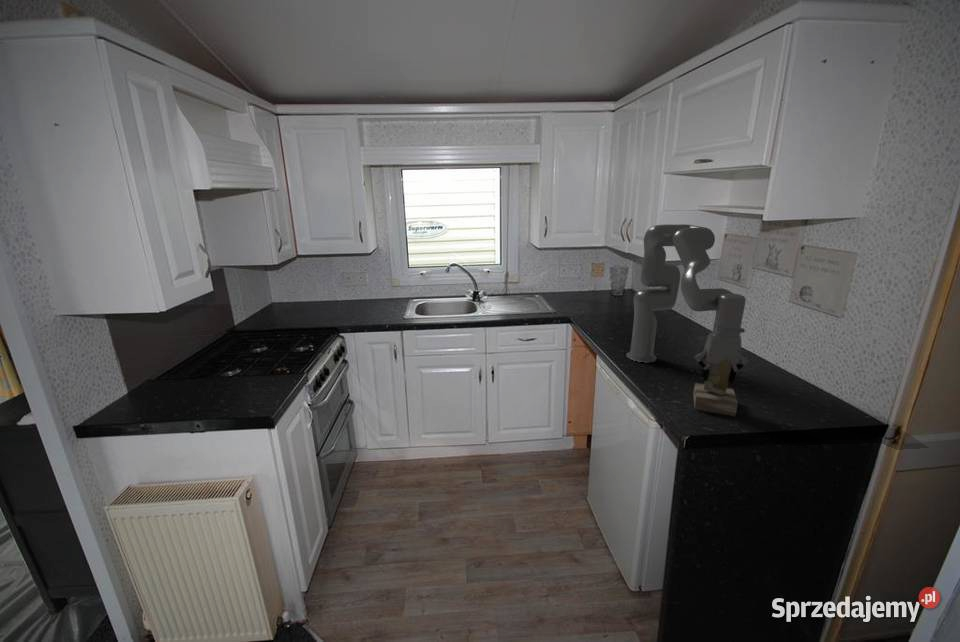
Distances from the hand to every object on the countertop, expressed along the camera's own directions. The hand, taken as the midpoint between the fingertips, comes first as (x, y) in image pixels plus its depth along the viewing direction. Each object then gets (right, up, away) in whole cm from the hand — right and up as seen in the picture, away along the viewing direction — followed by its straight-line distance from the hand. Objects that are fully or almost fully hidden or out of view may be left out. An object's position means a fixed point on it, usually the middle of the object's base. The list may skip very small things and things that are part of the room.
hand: (717, 379), depth 137 cm
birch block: (0, -9, +3) cm, 10 cm away
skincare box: (0, -4, +1) cm, 4 cm away
